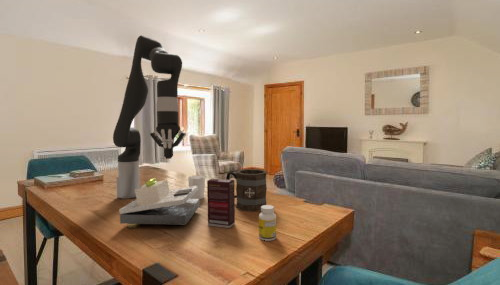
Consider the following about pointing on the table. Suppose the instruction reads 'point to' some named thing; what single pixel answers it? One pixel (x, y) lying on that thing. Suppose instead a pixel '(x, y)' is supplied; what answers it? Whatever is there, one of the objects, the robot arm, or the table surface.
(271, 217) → the supplement bottle
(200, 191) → the white cup
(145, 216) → the grey tray
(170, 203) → the plate
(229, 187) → the supplement box
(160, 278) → the table surface
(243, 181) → the mug
